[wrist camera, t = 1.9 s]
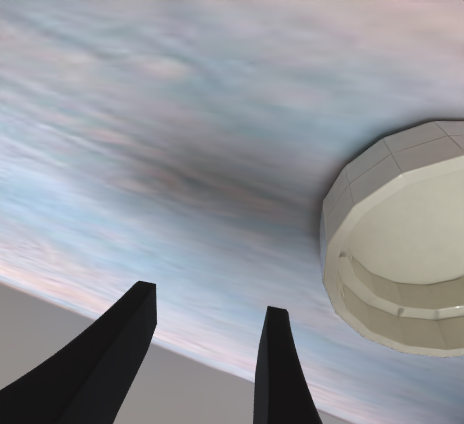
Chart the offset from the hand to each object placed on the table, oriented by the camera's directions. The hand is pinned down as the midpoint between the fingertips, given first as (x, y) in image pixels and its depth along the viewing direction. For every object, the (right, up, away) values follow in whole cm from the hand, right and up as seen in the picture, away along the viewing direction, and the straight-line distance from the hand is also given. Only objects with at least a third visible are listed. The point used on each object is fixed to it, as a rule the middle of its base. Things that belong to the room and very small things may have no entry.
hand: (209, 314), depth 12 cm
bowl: (+11, +3, +7) cm, 14 cm away
